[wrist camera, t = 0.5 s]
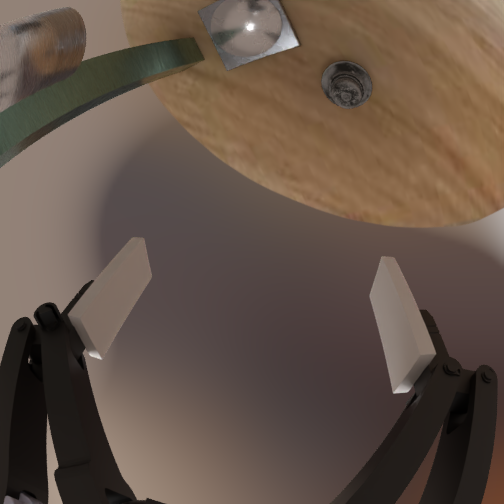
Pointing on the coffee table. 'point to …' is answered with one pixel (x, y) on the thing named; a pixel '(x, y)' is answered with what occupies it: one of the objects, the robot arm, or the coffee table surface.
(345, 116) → the coffee table surface
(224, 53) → the arbor press
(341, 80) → the dark chess piece
